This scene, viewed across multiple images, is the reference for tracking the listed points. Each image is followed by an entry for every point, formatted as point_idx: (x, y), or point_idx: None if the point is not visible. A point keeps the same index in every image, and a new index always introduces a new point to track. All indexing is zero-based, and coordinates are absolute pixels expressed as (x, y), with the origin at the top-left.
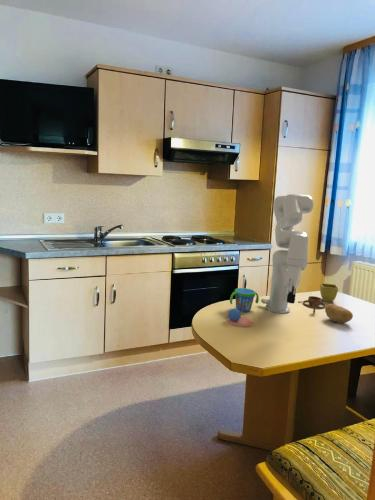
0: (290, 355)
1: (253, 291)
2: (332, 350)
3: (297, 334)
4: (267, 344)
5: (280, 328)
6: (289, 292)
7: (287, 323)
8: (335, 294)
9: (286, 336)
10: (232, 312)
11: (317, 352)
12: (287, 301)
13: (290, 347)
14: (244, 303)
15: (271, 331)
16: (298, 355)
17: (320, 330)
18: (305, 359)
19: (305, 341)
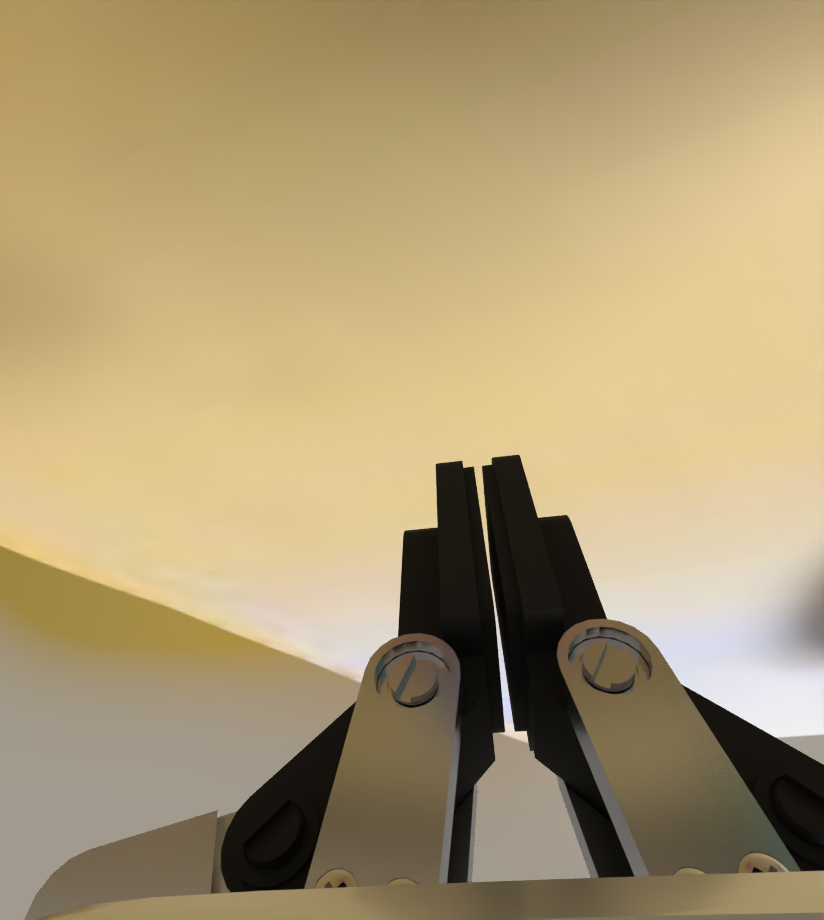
0: (21, 490)
1: None
2: (351, 643)
3: (472, 409)
4: (5, 276)
5: (525, 214)
6: (315, 753)
7: (752, 220)
8: None
9: (345, 348)
10: None
11: (240, 594)
12: (439, 482)
13: (148, 449)
14: None
15: (355, 163)
16: (77, 527)
17: (702, 523)
18: (68, 570)
19: (364, 498)
